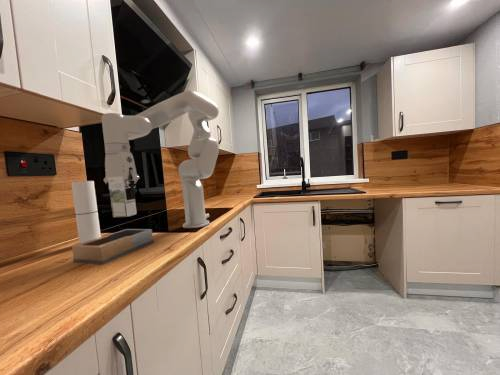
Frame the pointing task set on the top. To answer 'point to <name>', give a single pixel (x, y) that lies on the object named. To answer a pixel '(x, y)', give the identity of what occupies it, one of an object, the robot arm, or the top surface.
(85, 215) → the cylindrical container
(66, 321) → the top surface
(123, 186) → the syrup box
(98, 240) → the shallow storage tray
